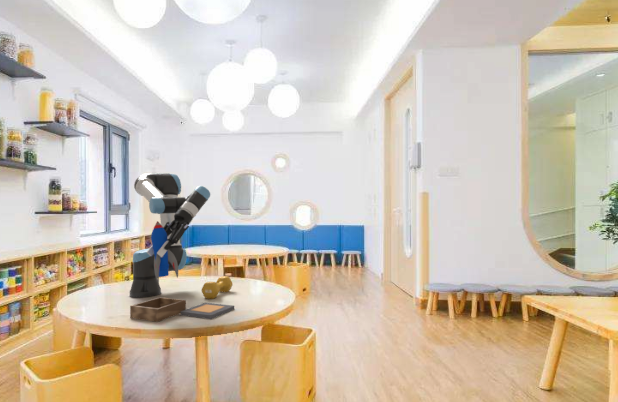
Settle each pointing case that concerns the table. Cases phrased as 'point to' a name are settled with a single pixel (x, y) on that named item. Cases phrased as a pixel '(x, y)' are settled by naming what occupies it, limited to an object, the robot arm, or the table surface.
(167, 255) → the toy rocket
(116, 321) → the table surface
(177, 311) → the wooden tray
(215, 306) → the pad
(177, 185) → the robot arm
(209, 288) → the dumbbell
